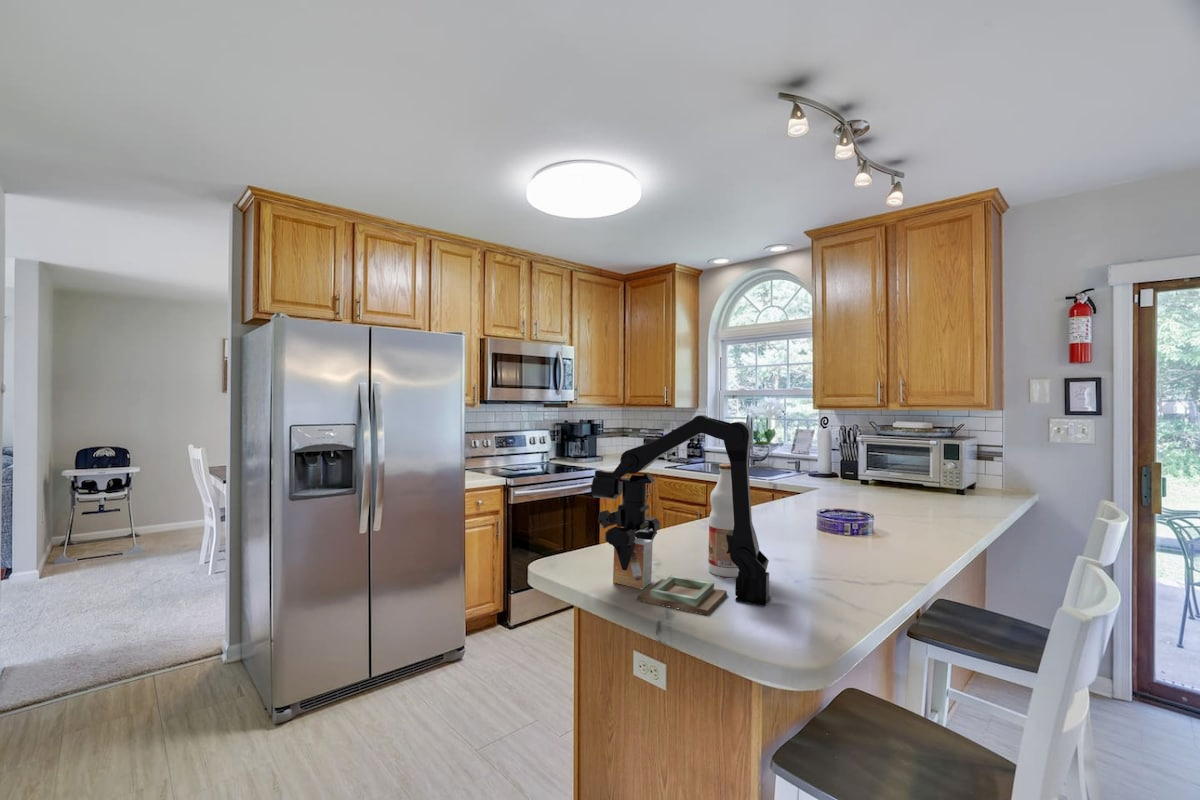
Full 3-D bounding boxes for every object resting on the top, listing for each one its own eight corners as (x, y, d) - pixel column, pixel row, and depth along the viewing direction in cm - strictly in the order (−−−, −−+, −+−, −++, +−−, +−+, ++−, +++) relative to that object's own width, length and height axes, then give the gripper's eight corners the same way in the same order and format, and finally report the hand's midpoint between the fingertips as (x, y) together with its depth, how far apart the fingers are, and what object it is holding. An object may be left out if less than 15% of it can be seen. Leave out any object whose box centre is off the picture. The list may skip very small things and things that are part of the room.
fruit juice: (730, 580, 138) (732, 467, 138) (700, 571, 145) (702, 463, 145) (752, 573, 144) (754, 465, 144) (723, 564, 151) (725, 461, 151)
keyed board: (726, 595, 127) (726, 584, 127) (707, 615, 115) (707, 603, 115) (661, 582, 135) (662, 572, 135) (637, 600, 123) (637, 589, 123)
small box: (612, 583, 134) (613, 539, 134) (622, 577, 139) (623, 535, 139) (643, 589, 130) (643, 544, 130) (652, 582, 135) (653, 539, 135)
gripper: (621, 492, 146) (620, 551, 146) (585, 503, 130) (584, 569, 130) (661, 496, 141) (659, 558, 141) (628, 508, 125) (627, 577, 125)
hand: (633, 565), depth 134 cm, fingers open, 9 cm apart
